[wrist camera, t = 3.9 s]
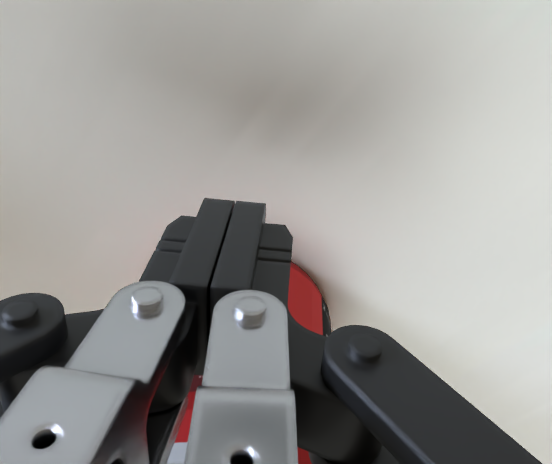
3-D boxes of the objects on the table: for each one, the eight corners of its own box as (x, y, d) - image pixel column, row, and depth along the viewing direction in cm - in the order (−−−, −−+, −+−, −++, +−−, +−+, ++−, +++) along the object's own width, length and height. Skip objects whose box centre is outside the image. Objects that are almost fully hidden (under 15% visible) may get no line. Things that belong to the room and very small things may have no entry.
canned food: (273, 389, 27) (253, 631, 18) (142, 320, 25) (41, 550, 16) (365, 299, 24) (400, 540, 14) (220, 211, 22) (151, 423, 12)
